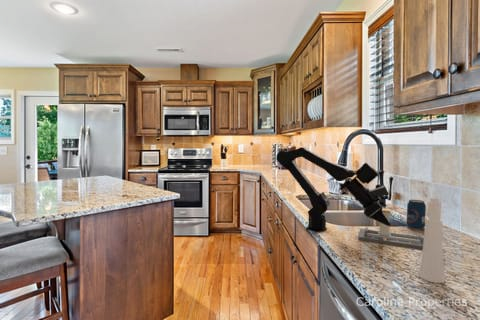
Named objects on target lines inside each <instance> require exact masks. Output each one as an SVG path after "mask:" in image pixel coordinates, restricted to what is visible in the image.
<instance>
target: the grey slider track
mask: <svg viewBox="0 0 480 320" xmlns="http://www.w3.org/2000/svg"><path fill="white" fill-rule="evenodd" d="M378 232H380V230H378V229H377V230H376V229H375V230H374V229H370V228H368V227H364V228H359V231H358V241H363V242H370V243H377V244H383V245H391V246H395V247H396V246H397V247H403V248H412V249H419V250H423V242H424V235H423V234H422V233H421V234H420V233H419V234H418V235H415V234H407V233H406V234H405V233H401V232H400V233H399V232H391V231H389V233H391V236H385V235H378Z"/></svg>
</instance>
